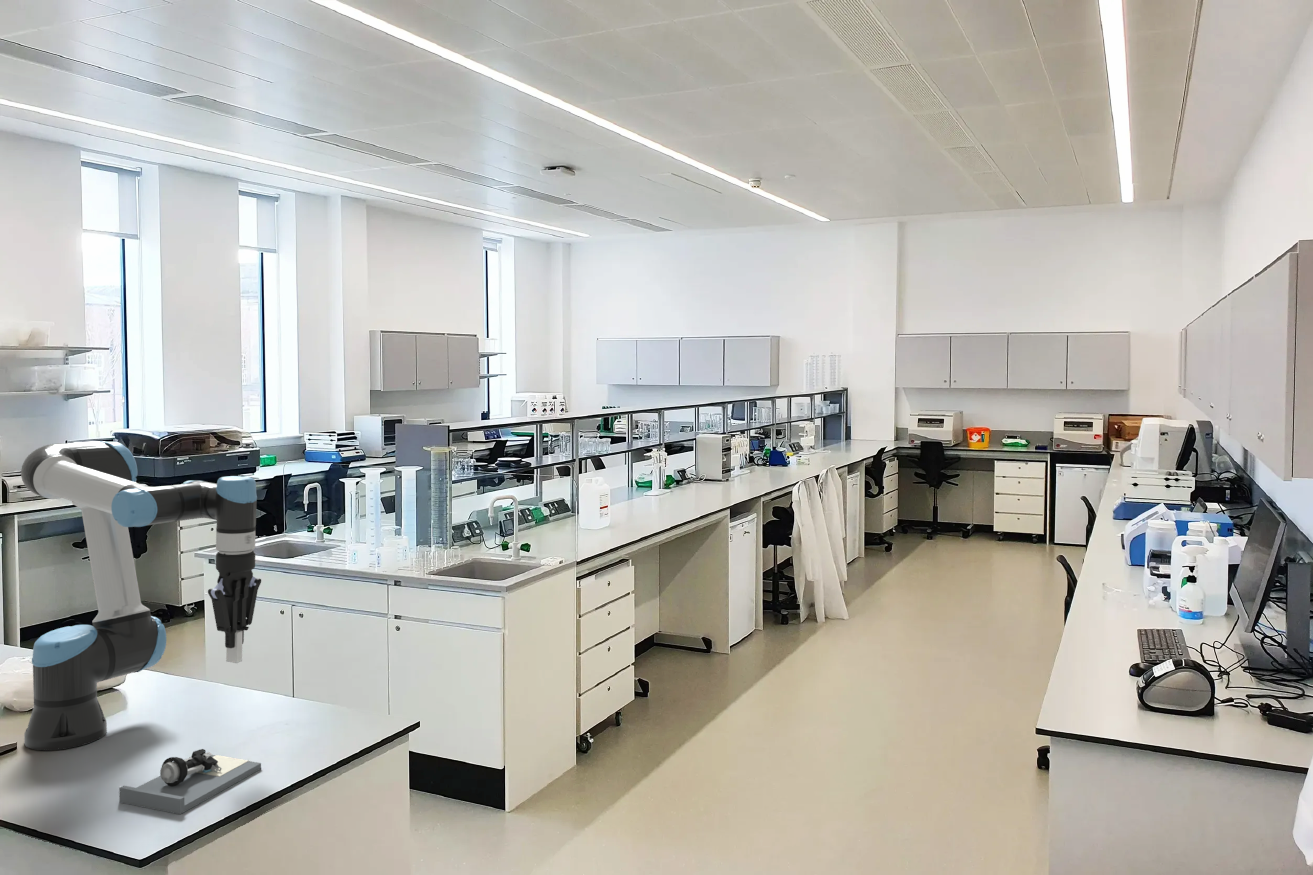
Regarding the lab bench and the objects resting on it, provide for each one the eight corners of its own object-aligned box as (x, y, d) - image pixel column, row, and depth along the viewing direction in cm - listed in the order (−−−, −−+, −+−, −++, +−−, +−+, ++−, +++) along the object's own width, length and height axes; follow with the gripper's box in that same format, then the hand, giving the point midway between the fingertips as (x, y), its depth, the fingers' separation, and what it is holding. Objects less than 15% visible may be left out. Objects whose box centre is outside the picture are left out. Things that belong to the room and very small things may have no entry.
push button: (227, 757, 184) (186, 770, 174) (218, 781, 184) (176, 796, 175) (204, 741, 186) (162, 753, 177) (195, 765, 186) (153, 778, 177)
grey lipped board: (119, 802, 172) (119, 787, 172) (204, 758, 192) (204, 745, 192) (180, 814, 168) (180, 799, 168) (260, 768, 188) (260, 755, 188)
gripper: (227, 558, 186) (225, 673, 188) (272, 547, 199) (270, 655, 200) (197, 554, 188) (195, 667, 190) (243, 543, 201) (242, 650, 203)
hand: (234, 661), depth 195 cm, fingers closed
